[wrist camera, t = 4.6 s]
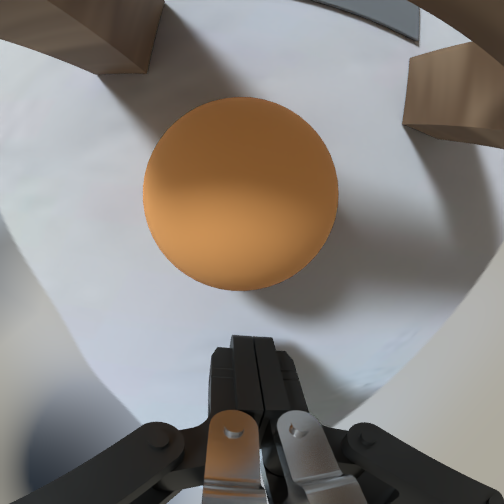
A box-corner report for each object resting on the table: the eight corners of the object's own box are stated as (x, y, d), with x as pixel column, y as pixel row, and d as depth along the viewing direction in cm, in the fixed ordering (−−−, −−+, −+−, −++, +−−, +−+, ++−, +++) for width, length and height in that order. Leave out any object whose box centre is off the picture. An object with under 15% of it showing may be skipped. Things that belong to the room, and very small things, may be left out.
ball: (248, 368, 6) (244, 286, 11) (415, 202, 5) (339, 187, 10) (67, 215, 5) (141, 195, 10) (235, 22, 4) (237, 90, 9)
